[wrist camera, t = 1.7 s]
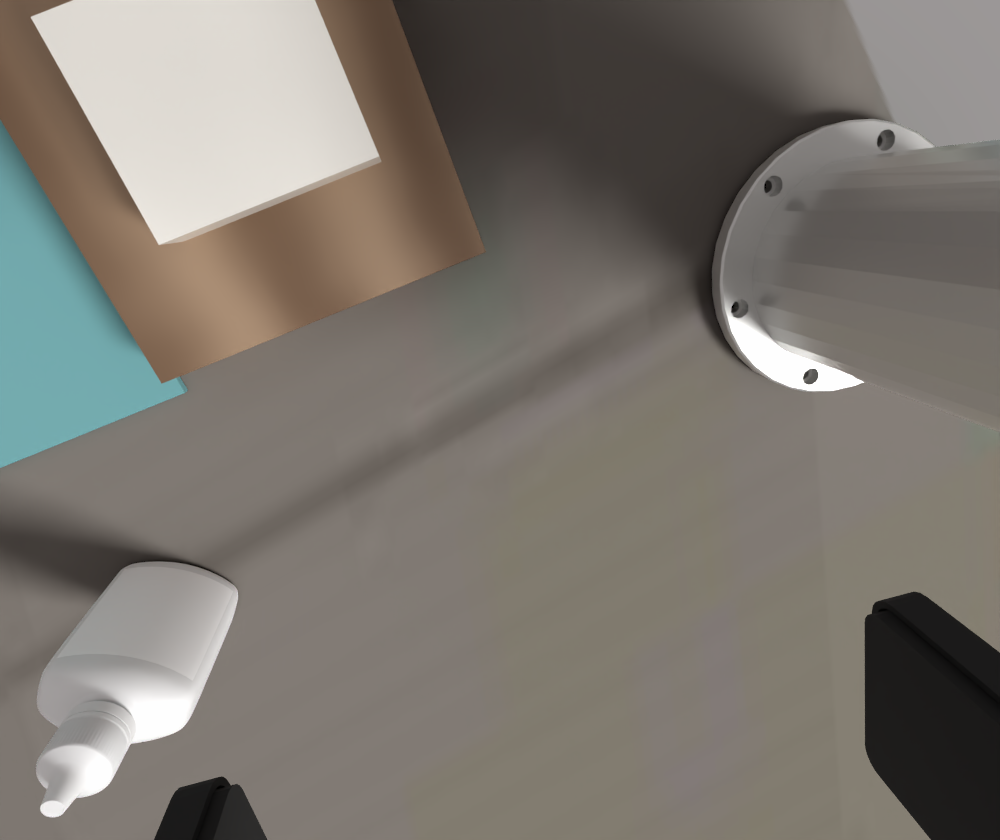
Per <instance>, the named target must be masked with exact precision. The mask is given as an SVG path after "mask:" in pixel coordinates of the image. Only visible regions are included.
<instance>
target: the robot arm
mask: <svg viewBox="0 0 1000 840" xmlns="http://www.w3.org/2000/svg"><path fill="white" fill-rule="evenodd" d="M765 182H766V184H767V188H766V190H765V191H764V184H765ZM712 296H713V301H714V306H715V311H716V317H717V320H718V322H719V325H720V327H721V329H722V332H723V334H724V337H725V339H726V340H727V342H728V343H729V345H730V346H731V348H732V349H733V351H734V352H735V353H736V355H737V356H738V357H739V358H740V359H741V360H742V361H743V362H744V363H745V364H746V365H747V366H749V367H750V368H751V369H752V370H753V371H755V372H756V373H758V374H760V375H762V376H763V377H765V378H767V379H769V380H771V381H773V382H775V383H778V384H780V385H783V386H785V387H788V388H791V389H796V390H800V391H805V392H828V391H836V390H840V389H845V388H849V387H853V386H856V385H858V384H861V383H863V382H866V383H868V384H871V385H874V386H876V387H879V388H882V389H884V390H887V391H890V392H893V393H895V394H898V395H901V396H903V397H906V398H909V399H911V400H914V401H917V402H920V403H922V404H925V405H928V406H930V407H933V408H936V409H938V410H941V411H944V412H947V413H949V414H952V415H955V416H957V417H960V418H963V419H965V420H968V421H971V422H973V423H976V424H979V425H982V426H984V427H987V428H990V429H992V430H995V431H998V432H1000V140H992V141H984V142H976V143H967V144H959V145H950V146H943V147H936V146H934V145H933V144H932V143H931V142H930V141H928V140H927V139H926V138H924V137H923V136H922V135H921V134H919V133H918V132H917V131H914V130H912V129H910V128H907V127H905V126H903V125H901V124H898V123H896V122H890V121H883V120H877V119H862V120H848V121H843V122H839V123H834V124H830V125H825V126H822V127H819V128H817V129H815V130H812V131H810V132H807V133H805V134H802V135H800V136H798V137H797V138H795V139H793V140H792V141H790V142H789V143H787V144H786V145H784V146H783V147H781V148H780V149H778V150H776V151H775V152H774V153H773V154H772V155H771V156H770V157H769V158H768V159H767V160H766V161H765V162H764V163H762V164H761V165H760V166H759V167H758V168H757V169H756V170H755V171H754V173H753V174H752V175H751V177H750V178H749V179H748V181H747V182H746V183H745V184H744V186H743V187H742V188H741V190H740V191H739V192H738V194H737V196H736V198H735V200H734V202H733V204H732V205H731V207H730V209H729V211H728V213H727V215H726V217H725V219H724V222H723V225H722V228H721V231H720V234H719V237H718V240H717V243H716V248H715V254H714V260H713V266H712ZM733 303H734V308H733V310H731V307H732V305H733ZM865 747H866V752H867V755H868V758H869V760H870V762H871V764H872V766H873V768H874V769H875V771H876V772H877V774H878V775H879V776H880V777H881V779H882V780H883V781H884V782H885V784H886V785H887V786H888V787H889V789H890V790H891V791H892V792H893V793H894V795H895V796H896V797H897V798H898V800H899V801H900V802H901V803H902V805H903V806H904V807H905V808H906V809H907V811H908V812H909V813H910V814H911V816H912V817H913V818H914V819H915V821H916V822H917V823H918V824H919V825H920V827H921V828H922V829H923V830H924V832H925V833H926V834H927V835H928V837H929V838H930V839H931V840H1000V653H999V652H998V651H997V650H996V649H994V648H993V647H992V646H990V645H989V644H988V643H986V642H985V641H984V640H982V639H981V638H980V637H979V636H977V635H976V634H975V633H973V632H972V631H971V630H969V629H968V628H967V627H965V626H964V625H963V624H962V623H960V622H959V621H958V620H956V619H955V618H954V617H952V616H951V615H950V614H948V613H947V612H946V611H945V610H943V609H942V608H941V607H939V606H938V605H937V604H935V603H934V602H933V601H931V600H930V599H929V598H928V597H926V596H924V595H923V594H921V593H918V592H911V593H907V594H903V595H900V596H896V597H892V598H888V599H885V600H881V601H878V602H875V604H874V605H873V609H872V614H870V615H867V617H866V618H865ZM154 840H267V838H266V836H265V834H264V832H263V830H262V828H261V826H260V824H259V822H258V820H257V818H256V816H255V814H254V812H253V810H252V808H251V806H250V804H249V802H248V800H247V798H246V795H245V793H244V791H243V789H242V788H241V787H240V785H238V784H235V785H230V784H229V782H228V781H227V779H226V778H224V777H218V778H214V779H210V780H207V781H203V782H199V783H195V784H192V785H188V786H184V787H180V788H179V789H178V790H177V791H176V792H175V793H174V795H173V797H172V798H171V800H170V803H169V805H168V808H167V810H166V812H165V815H164V817H163V820H162V822H161V824H160V827H159V829H158V832H157V834H156V836H155V839H154Z"/></svg>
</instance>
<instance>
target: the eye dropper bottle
mask: <svg viewBox="0 0 1000 840" xmlns="http://www.w3.org/2000/svg"><path fill="white" fill-rule="evenodd" d="M237 601H238V591H237V589H236V587H235V586H234V585H233V584H232V583H230V582H229V581H227V580H226V579H224V578H222V577H220V576H218V575H217V574H214V573H212V572H210V571H207V570H205V569H202V568H199V567H196V566H192V565H188V564H183V563H176V562H163V561H155V562H141V563H135V564H131V565H128V566H126V567H124V568H123V569H121V570H120V572H119V573H118V574H117V575H116V577H115V578H114V579H113V580H112V582H111V583H110V584H109V585H108V587H107V588H106V589H105V591H104V592H103V593H102V594H101V596H100V597H99V598H98V599H97V601H96V602H95V603H94V605H93V606H92V607H91V608H90V610H89V611H88V612H87V613H86V615H85V616H84V617H83V619H82V620H81V621H80V622H79V624H78V625H77V626H76V628H75V629H74V630H73V631H72V633H71V634H70V635H69V637H68V638H67V639H66V640H65V642H64V643H63V644H62V646H61V647H60V648H59V650H58V651H57V652H56V654H55V655H54V656H53V658H52V659H51V661H50V662H49V663H48V665H47V666H46V668H45V670H44V671H43V673H42V676H41V680H40V683H39V688H38V694H37V706H38V710H39V712H40V713H41V714H42V715H43V716H44V717H45V718H46V719H47V720H48V721H50V722H51V723H53V724H54V725H55V726H57V727H59V728H58V730H57V731H56V733H55V734H54V736H53V737H52V739H51V740H50V742H49V743H48V745H47V746H46V748H45V749H44V751H43V752H42V754H41V755H40V756H39V758H38V760H37V763H36V764H37V765H36V775H37V777H38V779H39V781H40V783H41V784H42V785H43V786H44V787H45V788H46V789H47V791H46V793H45V796H44V799H43V802H42V804H41V807H40V810H41V812H42V814H44V815H45V816H48V817H58V816H60V815H62V814H63V813H64V811H65V810H66V809H67V808H68V807H69V805H70V804H71V803H72V802H73V801H74V799H75V798H80V797H86V796H90V795H93V794H96V793H98V792H100V791H101V790H103V789H104V788H105V787H107V785H109V783H110V782H111V780H112V779H113V777H114V775H115V773H116V771H117V769H118V767H119V765H120V763H121V761H122V759H123V757H124V755H125V753H126V752H127V750H128V748H129V746H130V744H132V743H139V742H144V741H149V740H154V739H158V738H161V737H165V736H168V735H171V734H173V733H175V732H177V731H179V730H180V729H182V728H183V727H184V726H185V725H186V723H187V722H188V720H189V719H190V717H191V715H192V713H193V711H194V709H195V706H196V704H197V702H198V700H199V697H200V695H201V693H202V690H203V688H204V686H205V683H206V681H207V679H208V676H209V674H210V672H211V669H212V667H213V665H214V662H215V660H216V658H217V655H218V653H219V650H220V648H221V646H222V643H223V641H224V639H225V636H226V634H227V631H228V629H229V627H230V624H231V622H232V619H233V616H234V612H235V609H236V605H237Z"/></svg>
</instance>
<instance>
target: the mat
mask: <svg viewBox="0 0 1000 840" xmlns="http://www.w3.org/2000/svg"><path fill="white" fill-rule="evenodd" d="M186 391H188V390H187V388H186V386H185V385H184V383H183V381H182V380H181V378H180V377H177V378H175V379H172V380H170V381H167V382H165V383H161V382H160V380H159V379H158V377H157V375H156V374H155V372H154V370H153V369H152V367H151V365H150V364H149V362H148V361H147V359H146V357H145V356H144V354H143V352H142V351H141V349H140V347H139V346H138V344H137V343H136V341H135V339H134V338H133V336H132V334H131V333H130V331H129V329H128V328H127V326H126V325H125V323H124V321H123V320H122V318H121V316H120V315H119V313H118V311H117V310H116V308H115V307H114V305H113V303H112V302H111V300H110V298H109V297H108V295H107V293H106V292H105V290H104V289H103V287H102V285H101V284H100V282H99V280H98V279H97V277H96V275H95V274H94V272H93V270H92V269H91V267H90V266H89V264H88V262H87V261H86V259H85V257H84V256H83V254H82V252H81V251H80V249H79V248H78V246H77V244H76V243H75V241H74V239H73V238H72V236H71V234H70V233H69V231H68V230H67V228H66V226H65V225H64V223H63V221H62V220H61V218H60V216H59V215H58V213H57V212H56V210H55V208H54V207H53V205H52V203H51V202H50V200H49V198H48V197H47V195H46V194H45V192H44V190H43V189H42V187H41V185H40V184H39V182H38V180H37V179H36V177H35V176H34V174H33V172H32V171H31V169H30V167H29V166H28V164H27V162H26V161H25V159H24V158H23V156H22V154H21V153H20V151H19V149H18V148H17V146H16V144H15V143H14V141H13V140H12V138H11V136H10V135H9V133H8V131H7V130H6V128H5V126H4V125H3V123H2V122H1V120H0V468H1V467H4V466H6V465H9V464H11V463H14V462H16V461H18V460H21V459H23V458H26V457H28V456H31V455H33V454H36V453H38V452H41V451H43V450H45V449H48V448H50V447H53V446H55V445H58V444H60V443H63V442H65V441H68V440H70V439H73V438H75V437H77V436H80V435H82V434H85V433H87V432H90V431H92V430H95V429H97V428H100V427H102V426H104V425H107V424H109V423H112V422H114V421H117V420H119V419H122V418H124V417H127V416H129V415H131V414H134V413H136V412H139V411H141V410H144V409H146V408H149V407H151V406H154V405H156V404H158V403H161V402H163V401H166V400H168V399H171V398H173V397H176V396H178V395H181V394H183V393H185V392H186Z"/></svg>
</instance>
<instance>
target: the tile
mask: <svg viewBox="0 0 1000 840" xmlns="http://www.w3.org/2000/svg"><path fill="white" fill-rule="evenodd" d="M31 19H32V21H33V22H34V24H35V26H36V28H37V29H38V31H39V33H40V35H41V37H42V38H43V40H44V42H45V44H46V45H47V47H48V49H49V51H50V52H51V54H52V56H53V58H54V60H55V61H56V63H57V65H58V67H59V68H60V70H61V72H62V74H63V76H64V77H65V79H66V81H67V83H68V84H69V86H70V88H71V90H72V92H73V93H74V95H75V97H76V99H77V100H78V102H79V104H80V106H81V108H82V109H83V111H84V113H85V115H86V116H87V118H88V120H89V122H90V124H91V125H92V127H93V129H94V131H95V132H96V134H97V136H98V138H99V140H100V141H101V143H102V145H103V147H104V148H105V150H106V152H107V154H108V156H109V157H110V159H111V161H112V163H113V164H114V166H115V168H116V170H117V172H118V173H119V175H120V177H121V179H122V180H123V182H124V184H125V186H126V188H127V189H128V191H129V193H130V195H131V196H132V198H133V200H134V202H135V203H136V205H137V207H138V209H139V211H140V212H141V214H142V216H143V218H144V219H145V221H146V223H147V225H148V227H149V228H150V230H151V232H152V234H153V235H154V237H155V239H156V241H157V243H158V244H159V245H163V244H170V243H177V242H184V241H186V240H189V239H191V238H194V237H196V236H199V235H201V234H204V233H206V232H209V231H211V230H214V229H216V228H219V227H221V226H224V225H226V224H229V223H231V222H234V221H236V220H239V219H241V218H244V217H246V216H248V215H251V214H253V213H256V212H258V211H261V210H263V209H266V208H268V207H271V206H273V205H276V204H278V203H281V202H283V201H286V200H288V199H291V198H293V197H296V196H298V195H301V194H303V193H306V192H308V191H311V190H313V189H315V188H318V187H320V186H323V185H325V184H328V183H330V182H333V181H335V180H338V179H340V178H343V177H345V176H348V175H350V174H353V173H355V172H358V171H360V170H363V169H365V168H368V167H370V166H373V165H375V164H378V163H380V162H382V161H381V159H380V156H379V154H378V152H377V149H376V147H375V144H374V142H373V139H372V137H371V135H370V132H369V130H368V127H367V125H366V122H365V120H364V118H363V115H362V113H361V110H360V108H359V106H358V103H357V101H356V98H355V96H354V93H353V91H352V89H351V86H350V84H349V81H348V79H347V76H346V74H345V72H344V69H343V67H342V64H341V62H340V59H339V57H338V55H337V52H336V50H335V47H334V45H333V42H332V40H331V38H330V35H329V33H328V30H327V28H326V25H325V23H324V21H323V18H322V16H321V13H320V11H319V8H318V6H317V4H316V1H315V0H72V1H70V2H67V3H65V4H62V5H60V6H57V7H54V8H52V9H49V10H47V11H44V12H42V13H39V14H37V15H34V16H32V17H31Z"/></svg>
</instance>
